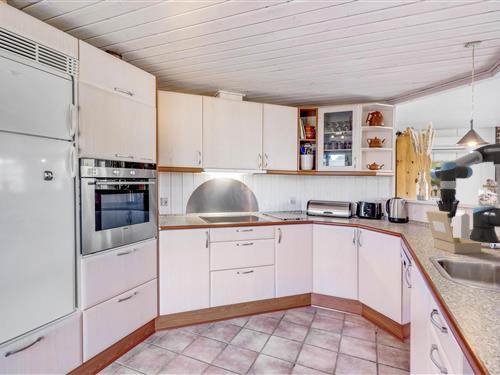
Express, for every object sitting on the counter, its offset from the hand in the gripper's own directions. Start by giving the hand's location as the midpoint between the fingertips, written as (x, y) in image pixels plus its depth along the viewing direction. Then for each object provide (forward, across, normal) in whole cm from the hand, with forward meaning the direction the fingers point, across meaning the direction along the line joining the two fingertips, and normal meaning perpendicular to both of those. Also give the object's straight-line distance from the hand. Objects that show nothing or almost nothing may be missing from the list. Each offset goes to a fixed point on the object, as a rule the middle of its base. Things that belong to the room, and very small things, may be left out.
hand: (447, 228), depth 167 cm
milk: (+13, -21, -14) cm, 28 cm away
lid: (-2, +2, 0) cm, 3 cm away
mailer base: (+13, -6, 0) cm, 14 cm away
